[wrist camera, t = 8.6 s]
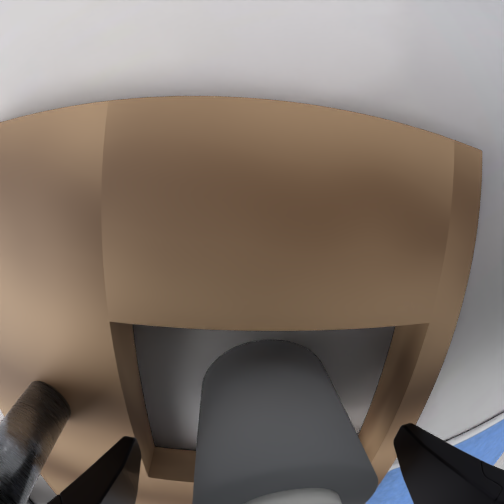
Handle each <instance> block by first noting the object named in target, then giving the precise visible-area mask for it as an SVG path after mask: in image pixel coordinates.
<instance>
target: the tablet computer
mask: <svg viewBox="0 0 504 504" xmlns="http://www.w3.org/2000/svg"><path fill="white" fill-rule="evenodd" d="M445 442H447V443H449V444H451V445H453V446H454V447H456V448H458V449H460V450H462V451H464V452H466V453H468V454H470V455H472V456H474V457H476V458H478V459H480V460H482V461H484V462H486V463H488V464H490V465H494V464H495V463H496V461H497V460H498V459H499V457H500V456H501V455H502V453H503V452H504V412H503V413H501V414H500V415H498V416H496V417H495V418H493V419H491V420H489V421H487V422H485V423H483V424H482V425H480V426H478V427H476V428H474V429H472V430H470V431H468V432H466V433H463V434H461V435H459V436H457V437H455V438H452V439H450V440H448V441H445ZM365 504H414V503H413V501H412V498H411V496H410V493H409V491H408V488H407V486H406V484H405V481H404V479H403V476H402V473H401V469H400V466H399V462H398V459H396V460H395V461H394V463H393V465H392V466H391V468H390V469H389V471H388V472H387V474H386V475H385V477H384V478H383V480H382V481H381V483H380V484H379V486H378V487H377V489H376V491H375V492H374V494H373V495H372V497H371V498H370V499H369V500H368V501H367V502H366V503H365Z"/></svg>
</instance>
